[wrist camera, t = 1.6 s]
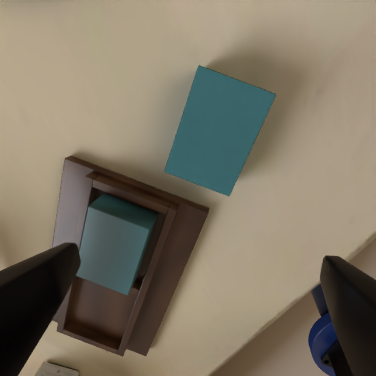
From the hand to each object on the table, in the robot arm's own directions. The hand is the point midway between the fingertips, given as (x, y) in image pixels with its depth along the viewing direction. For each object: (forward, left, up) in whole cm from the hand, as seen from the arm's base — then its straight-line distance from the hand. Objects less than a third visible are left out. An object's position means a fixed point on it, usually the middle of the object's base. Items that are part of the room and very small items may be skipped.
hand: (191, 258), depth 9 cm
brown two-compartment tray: (+6, +16, -14) cm, 22 cm away
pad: (0, -2, -14) cm, 14 cm away
